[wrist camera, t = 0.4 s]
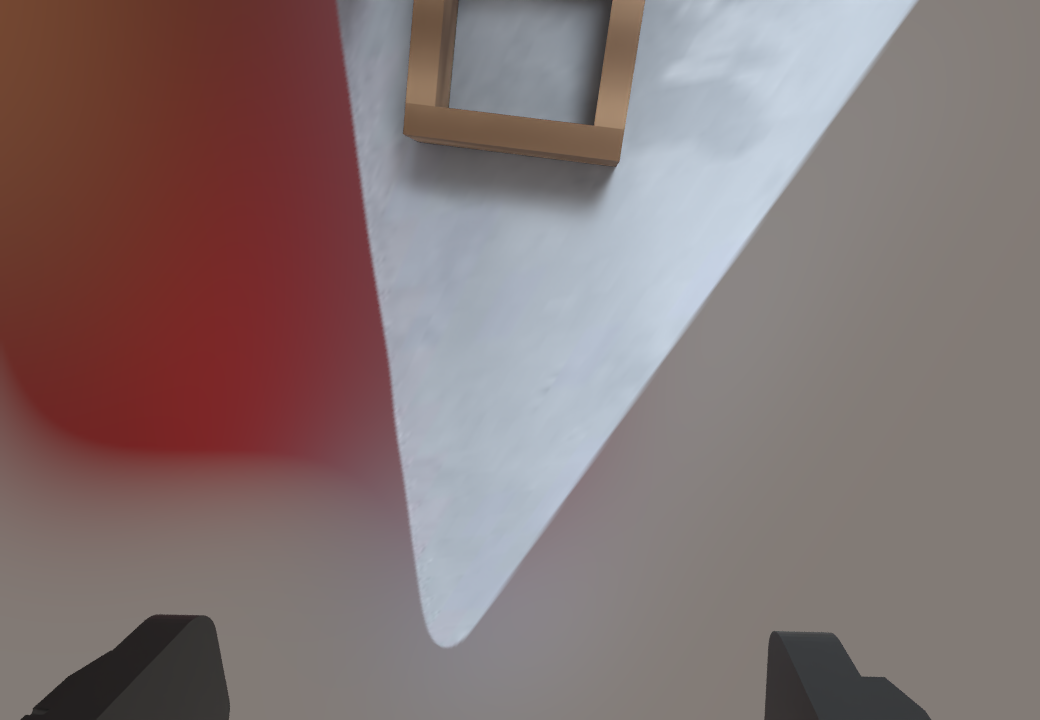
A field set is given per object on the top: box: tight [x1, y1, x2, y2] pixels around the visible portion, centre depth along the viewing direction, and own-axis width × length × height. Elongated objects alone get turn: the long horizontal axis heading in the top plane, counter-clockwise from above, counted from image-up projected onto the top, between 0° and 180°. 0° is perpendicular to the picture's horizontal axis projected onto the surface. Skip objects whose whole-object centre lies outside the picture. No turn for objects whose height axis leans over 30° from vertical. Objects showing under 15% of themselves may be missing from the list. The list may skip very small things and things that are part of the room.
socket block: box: [403, 0, 645, 167], centre depth 31 cm, size 11×11×3 cm
